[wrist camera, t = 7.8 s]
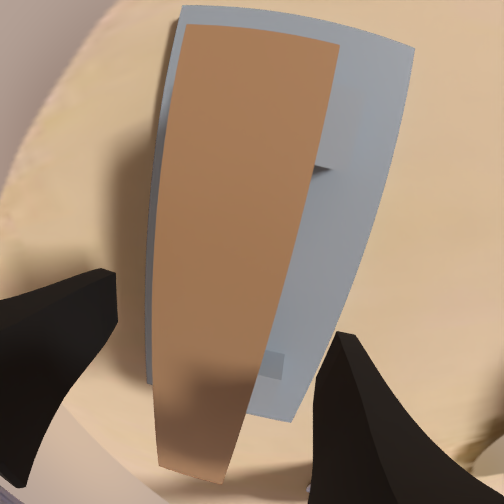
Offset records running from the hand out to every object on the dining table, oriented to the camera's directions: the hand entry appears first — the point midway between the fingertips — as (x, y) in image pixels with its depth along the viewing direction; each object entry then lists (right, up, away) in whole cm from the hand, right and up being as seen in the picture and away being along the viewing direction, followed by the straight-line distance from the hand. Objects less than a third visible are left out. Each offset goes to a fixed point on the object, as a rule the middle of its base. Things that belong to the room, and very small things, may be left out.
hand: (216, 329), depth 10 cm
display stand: (+1, +2, +6) cm, 6 cm away
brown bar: (+1, +1, +3) cm, 3 cm away
